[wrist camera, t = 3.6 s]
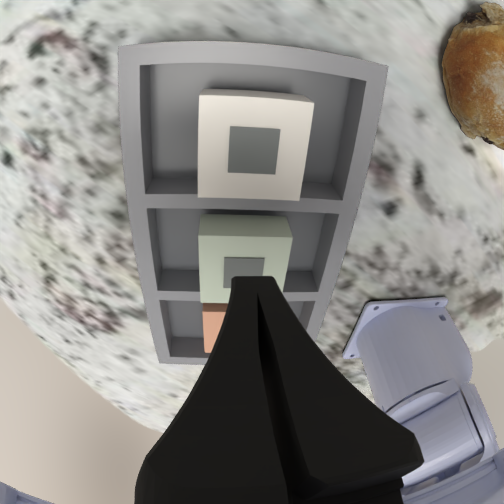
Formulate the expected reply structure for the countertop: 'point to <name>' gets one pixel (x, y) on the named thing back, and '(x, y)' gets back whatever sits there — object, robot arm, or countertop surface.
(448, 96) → the bread roll
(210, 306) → the key terracotta
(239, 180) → the key offwhite
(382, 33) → the countertop surface
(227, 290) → the key sage
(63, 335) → the countertop surface
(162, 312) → the grey compartment tray
